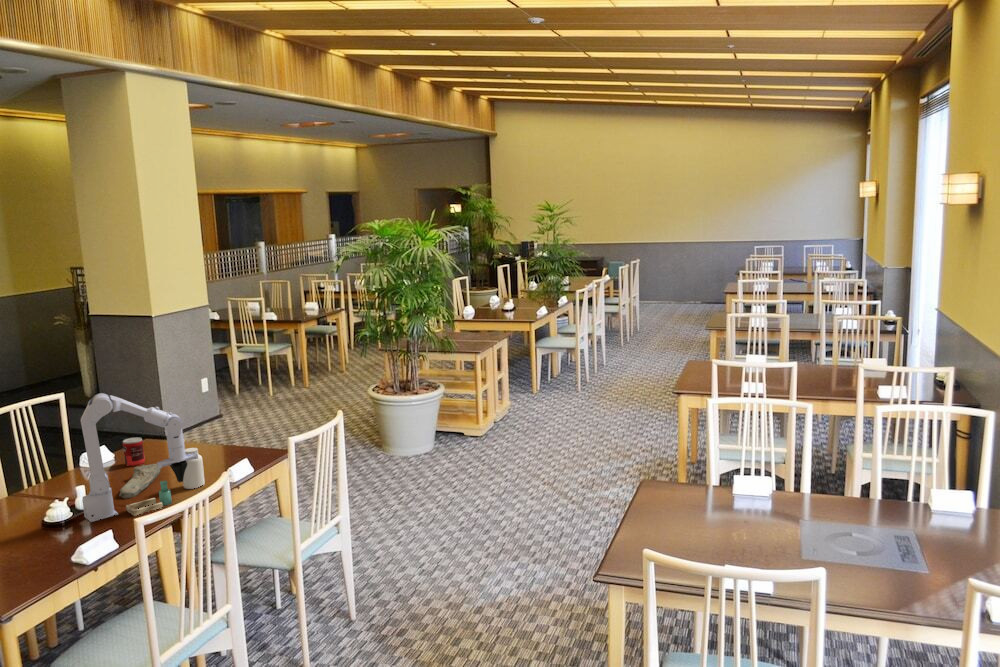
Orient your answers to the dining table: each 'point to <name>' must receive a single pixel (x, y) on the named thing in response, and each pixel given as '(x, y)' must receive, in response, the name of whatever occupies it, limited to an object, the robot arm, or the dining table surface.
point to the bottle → (165, 494)
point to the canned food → (133, 451)
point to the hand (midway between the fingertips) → (180, 481)
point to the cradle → (134, 507)
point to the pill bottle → (193, 471)
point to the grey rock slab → (140, 480)
